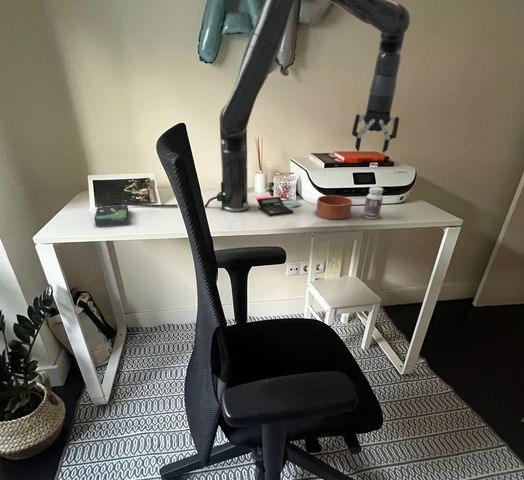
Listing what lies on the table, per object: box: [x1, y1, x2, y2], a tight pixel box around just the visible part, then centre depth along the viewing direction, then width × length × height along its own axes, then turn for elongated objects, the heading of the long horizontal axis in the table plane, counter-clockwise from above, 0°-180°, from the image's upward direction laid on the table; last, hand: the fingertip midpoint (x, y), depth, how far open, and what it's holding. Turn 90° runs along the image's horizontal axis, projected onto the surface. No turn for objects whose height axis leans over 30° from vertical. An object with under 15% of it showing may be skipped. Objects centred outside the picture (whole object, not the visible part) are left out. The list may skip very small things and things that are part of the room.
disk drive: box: [94, 204, 130, 227], centre depth 126 cm, size 10×3×15 cm
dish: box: [315, 195, 353, 221], centre depth 135 cm, size 13×13×5 cm
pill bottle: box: [362, 186, 384, 220], centre depth 132 cm, size 6×6×10 cm
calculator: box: [257, 196, 294, 217], centre depth 138 cm, size 9×12×3 cm
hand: (370, 151), depth 125 cm, fingers open, 8 cm apart
